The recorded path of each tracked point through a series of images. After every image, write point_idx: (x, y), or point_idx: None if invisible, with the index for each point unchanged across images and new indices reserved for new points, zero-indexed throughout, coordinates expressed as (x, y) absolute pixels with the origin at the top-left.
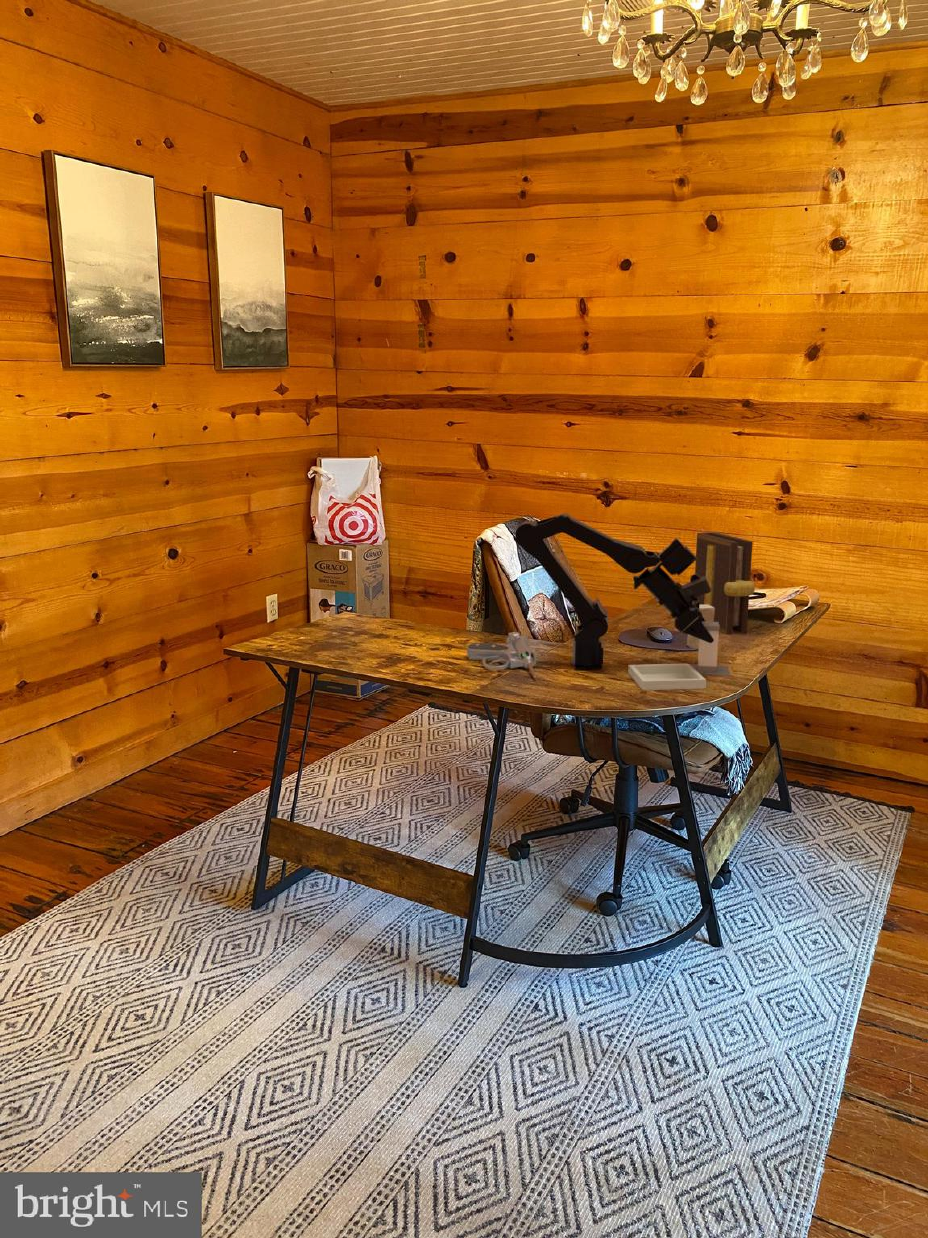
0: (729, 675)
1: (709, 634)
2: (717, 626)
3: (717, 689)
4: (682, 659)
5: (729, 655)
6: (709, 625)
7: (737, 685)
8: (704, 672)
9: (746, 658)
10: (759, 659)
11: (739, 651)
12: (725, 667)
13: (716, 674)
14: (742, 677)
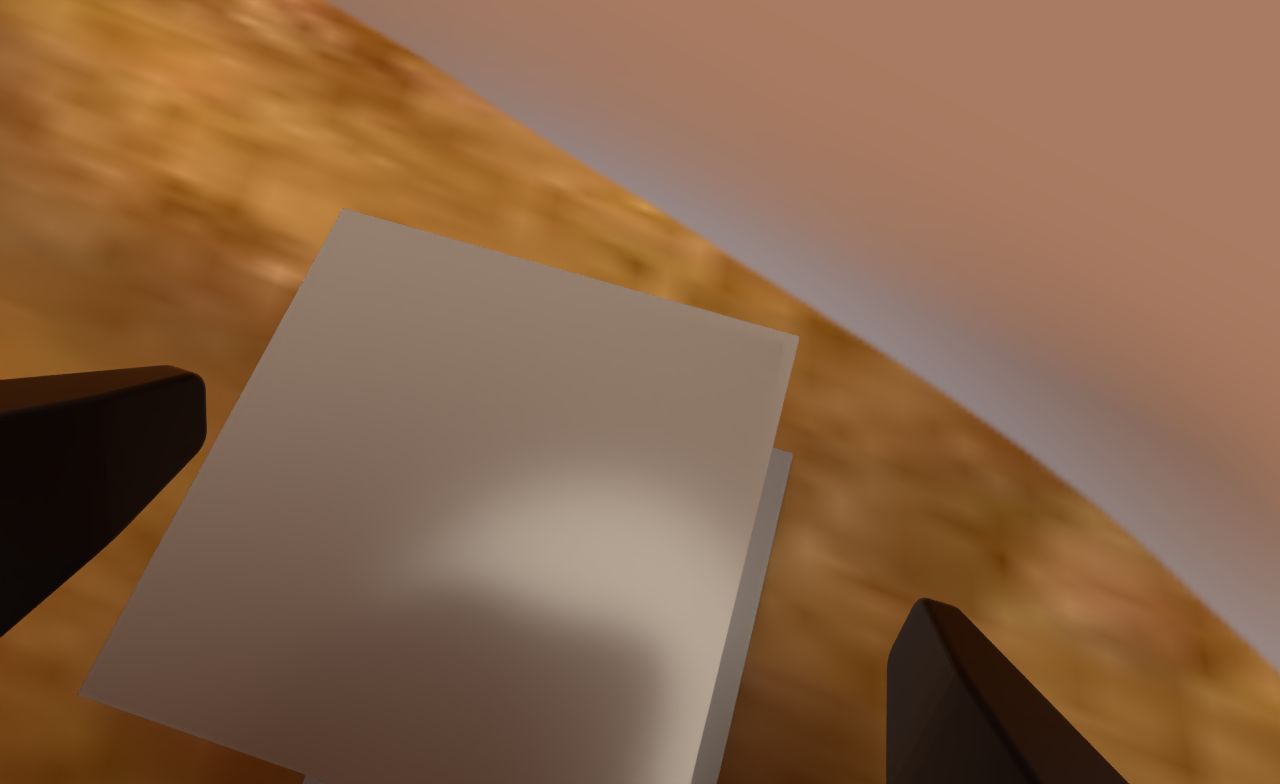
0: (789, 461)
1: (1071, 737)
2: (782, 387)
3: (1185, 733)
4: (39, 714)
5: (97, 207)
6: (705, 584)
7: (1029, 487)
8: None
9: (237, 121)
10: (297, 49)
11: (16, 93)
12: None
13: (754, 576)
14: None
